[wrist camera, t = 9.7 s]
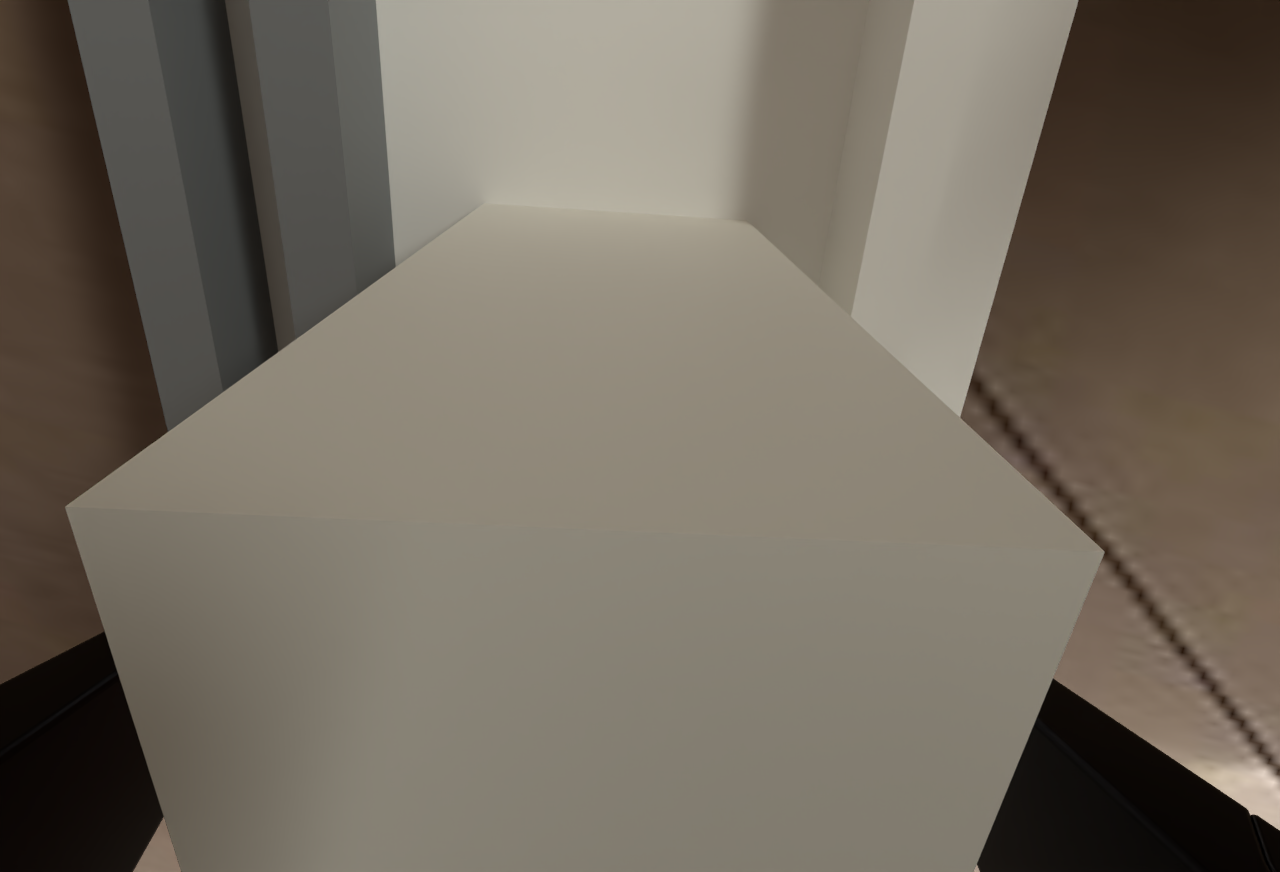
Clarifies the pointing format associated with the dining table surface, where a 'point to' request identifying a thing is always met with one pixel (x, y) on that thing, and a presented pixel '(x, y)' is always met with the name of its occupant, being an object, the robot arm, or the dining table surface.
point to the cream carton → (581, 576)
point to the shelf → (560, 148)
